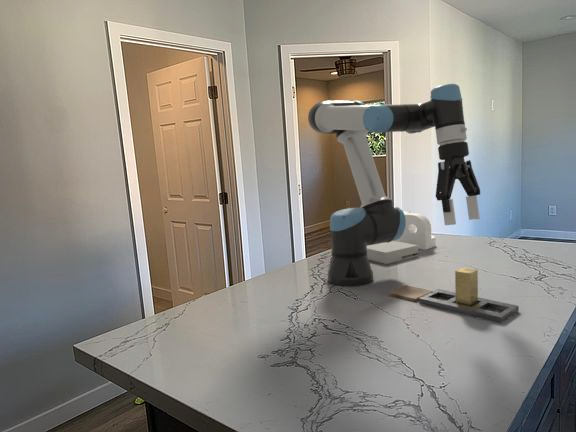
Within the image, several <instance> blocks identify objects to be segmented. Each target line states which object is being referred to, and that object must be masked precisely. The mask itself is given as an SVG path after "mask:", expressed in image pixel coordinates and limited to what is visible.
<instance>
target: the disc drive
mask: <svg viewBox="0 0 576 432" xmlns="http://www.w3.org/2000/svg"><path fill="white" fill-rule="evenodd" d="M367 257H368V260H369V261H372V262H378V263H381V264H385V265H388V264H392V263H396V262H399V261H404V260H408V259H411V258H415V257H419V249H418V245H414V244H408V243H403V242H397V241H391V242H388V243H387V242H385V243H379V244H374V245H368V246H367Z"/></svg>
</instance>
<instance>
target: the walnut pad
mask: <svg viewBox="0 0 576 432" xmlns="http://www.w3.org/2000/svg"><path fill="white" fill-rule="evenodd" d="M431 292H434V291H433V290H431V289H427V288H421V287H417V286H412V285H403V286H401V287H400V288H395V289H394V290H392V291H389V292H388V297H389V296H390V297H395V298H398V299H403V300H406V301H411V302H415V303H416V302H419V298H421V297H423V296H425V295H427V294H429V293H431Z"/></svg>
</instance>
